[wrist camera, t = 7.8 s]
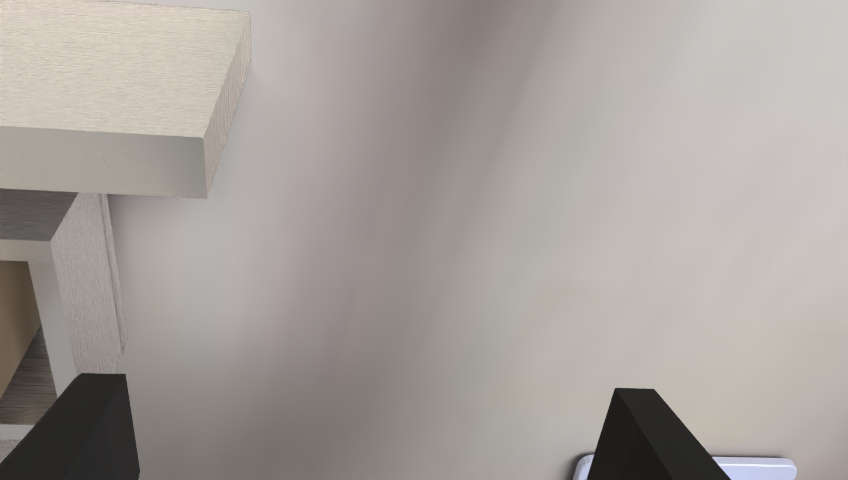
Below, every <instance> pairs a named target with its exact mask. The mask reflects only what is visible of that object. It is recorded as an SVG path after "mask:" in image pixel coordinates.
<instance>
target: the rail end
mask: <svg viewBox="0 0 848 480" xmlns="http://www.w3.org/2000/svg"><path fill="white" fill-rule="evenodd" d="M40 325H41V320H40V315H39V311H38V306H37V301H36V297H35V292H34V288H33V283H32V279H31V274H30V269H29V265H28V261H6V260H0V399H1V397H2V395H3V394H4V392H5V390H6V388H7V386H8V384H9V382H10V381H11V379H12V377H13V375H14V373H15V371H16V369H17V368H18V366H19V364H20V362H21V360H22V358H23V356H24V355H25V353H26V351H27V349H28V347H29V345H30V344H31V342H32V340H33V338H34V336H35V334H36V332H37V331H38V329H39V327H40Z"/></svg>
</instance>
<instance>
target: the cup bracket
mask: <svg viewBox="0 0 848 480" xmlns="http://www.w3.org/2000/svg"><path fill="white" fill-rule="evenodd" d="M250 62H251V41H250V12H242V11H229V10H216V9H202V8H189V7H175V6H162V5H148V4H135V3H121V2H108V1H95V0H0V260H6V261H28V265H29V269H30V274H31V279H32V283H33V288H34V292H35V297H36V301H37V306H38V311H39V315H40V320H41V325H40V327H39V329H38V331H37V332H36V334H35V336H34V338H33V340H32V342H31V344H30V345H29V347H28V349H27V351H26V353H25V355H24V356H23V358H22V360H21V362H20V364H19V366H18V368H17V369H16V371H15V373H14V375H13V377H12V379H11V381H10V382H9V384H8V386H7V388H6V390H5V392H4V394H3V395H2V397H1V399H0V439H1V440H22V439H23V438H24V437H25V436H26V435H27V433H28V432H29V431H30V430H31V429H32V428H33V427H34V426H35V424H36V423H37V422H38V421H39V420H40V419H41V417H42V416H43V415H44V414H45V413H46V412H47V410H48V409H49V408H50V407H51V406H52V404H53V403H54V402H55V401H56V400H57V399H58V397H59V396H60V395H61V394H62V393H63V391H64V390H65V389H66V388H67V387H68V385H69V384H70V383H71V382H72V381H73V379H74V378H76V377H77V376H78V375H79V374H81V373H102V374H115V371H116V368H117V366H118V363H119V360H120V358H121V355H122V352H123V350H124V347H125V344H126V342H127V339H128V338H127V331H126V324H125V317H124V310H123V303H122V296H121V289H120V282H119V275H118V268H117V261H116V254H115V247H114V240H113V233H112V226H111V219H110V212H109V205H108V198H107V194H123V195H143V196H163V197H183V198H203V199H207V198H208V194H209V191H210V188H211V185H212V182H213V179H214V176H215V172H216V169H217V166H218V163H219V160H220V157H221V154H222V150H223V147H224V144H225V141H226V138H227V135H228V131H229V128H230V125H231V122H232V119H233V116H234V113H235V109H236V106H237V103H238V100H239V97H240V94H241V91H242V87H243V84H244V81H245V78H246V75H247V72H248V68H249V65H250Z"/></svg>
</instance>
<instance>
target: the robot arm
mask: <svg viewBox="0 0 848 480" xmlns="http://www.w3.org/2000/svg"><path fill="white" fill-rule="evenodd" d="M139 473H140V468H139V461H138V455H137V448H136V441H135V435H134V428H133V421H132V415H131V408H130V401H129V395H128V388H127V381H126V375H125V374H102V373H81V374H79V375H78V376H77V377H76V378H74V379H73V381H72V382H71V383H70V384H69V385H68V387H67V388H66V389H65V390H64V391H63V393H62V394H61V395H60V396H59V397H58V399H57V400H56V401H55V402H54V403H53V404H52V406H51V407H50V408H49V409H48V410H47V412H46V413H45V414H44V415H43V416H42V417H41V419H40V420H39V421H38V422H37V423H36V424H35V426H34V427H33V428H32V429H31V430H30V431H29V432H28V433H27V435H26V436H25V437H24V438H23V439H22V440H21V441H20V443H19V444H18V445H17V446H16V447H15V448H14V449H13V450H12V452H11V453H10V454H9V455H8V456H7V457H6V458H5V459H4V460H3V461H2V462H1V463H0V480H138V478H139ZM796 474H797V469H796V467H795V465H794V463H793V461H791V460H790V459H786V458H752V457H711V456H710V454H709V453H708V452H707V451H706V450H705V449H704V447H703V446H702V445H701V444H700V443H699V442H698V440H697V439H696V438H695V437H694V436H693V434H692V433H691V432H690V431H689V430H688V429H687V427H686V426H685V425H684V424H683V423H682V421H681V420H680V419H679V418H678V417H677V416H676V414H675V413H674V412H673V411H672V410H671V408H670V407H669V406H668V405H667V404H666V402H665V401H664V400H663V399H662V398H661V397H660V395H659V394H658V393H657V392H656V391H655V390H654V389H635V388H615V390H614V393H613V396H612V399H611V403H610V406H609V409H608V412H607V415H606V419H605V422H604V425H603V428H602V431H601V435H600V438H599V441H598V444H597V447H596V450H595V454H593V455H587V456H585V457H583V458H582V459H581V460H580V461H579V462H578V464H577V467H576V470H575V474H574V477H573V480H794V478H795V476H796Z"/></svg>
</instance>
